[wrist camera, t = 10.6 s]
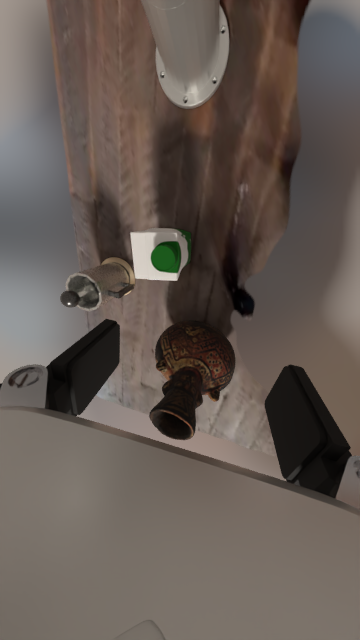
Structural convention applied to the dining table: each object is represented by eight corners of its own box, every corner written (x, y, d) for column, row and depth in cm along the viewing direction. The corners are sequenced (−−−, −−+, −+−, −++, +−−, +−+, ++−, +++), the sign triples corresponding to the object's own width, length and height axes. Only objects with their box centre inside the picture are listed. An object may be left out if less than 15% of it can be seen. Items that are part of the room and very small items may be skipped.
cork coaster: (99, 253, 51) (98, 253, 51) (136, 261, 50) (135, 261, 50) (100, 290, 56) (99, 291, 56) (134, 298, 55) (133, 299, 55)
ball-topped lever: (95, 267, 47) (46, 282, 34) (118, 272, 47) (77, 289, 33) (97, 290, 50) (52, 312, 37) (118, 295, 49) (80, 319, 36)
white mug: (102, 259, 51) (63, 269, 38) (140, 267, 50) (113, 280, 37) (103, 288, 55) (68, 305, 42) (138, 296, 54) (113, 317, 41)
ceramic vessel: (245, 329, 52) (270, 431, 26) (215, 369, 61) (212, 477, 34) (179, 297, 52) (137, 367, 26) (158, 342, 60) (111, 429, 34)
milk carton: (193, 266, 48) (177, 287, 30) (159, 264, 49) (126, 284, 32) (194, 228, 44) (177, 227, 26) (158, 228, 45) (118, 227, 28)
